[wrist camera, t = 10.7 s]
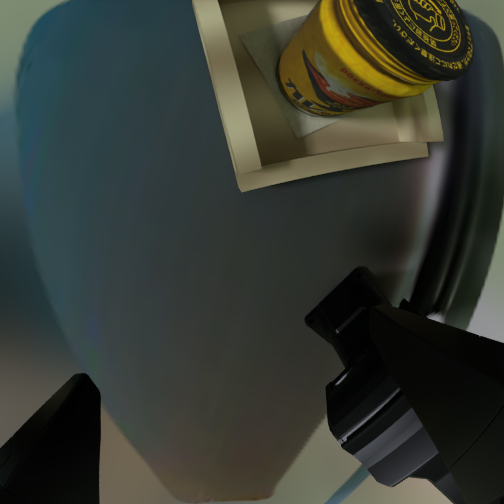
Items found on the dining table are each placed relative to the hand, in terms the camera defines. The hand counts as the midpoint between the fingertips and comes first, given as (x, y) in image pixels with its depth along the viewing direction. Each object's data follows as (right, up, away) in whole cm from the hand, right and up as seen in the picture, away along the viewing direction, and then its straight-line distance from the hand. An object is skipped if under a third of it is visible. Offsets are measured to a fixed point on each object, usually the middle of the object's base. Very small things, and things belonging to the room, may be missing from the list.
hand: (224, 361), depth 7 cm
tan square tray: (+5, +16, +9) cm, 19 cm away
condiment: (+5, +16, +8) cm, 19 cm away
